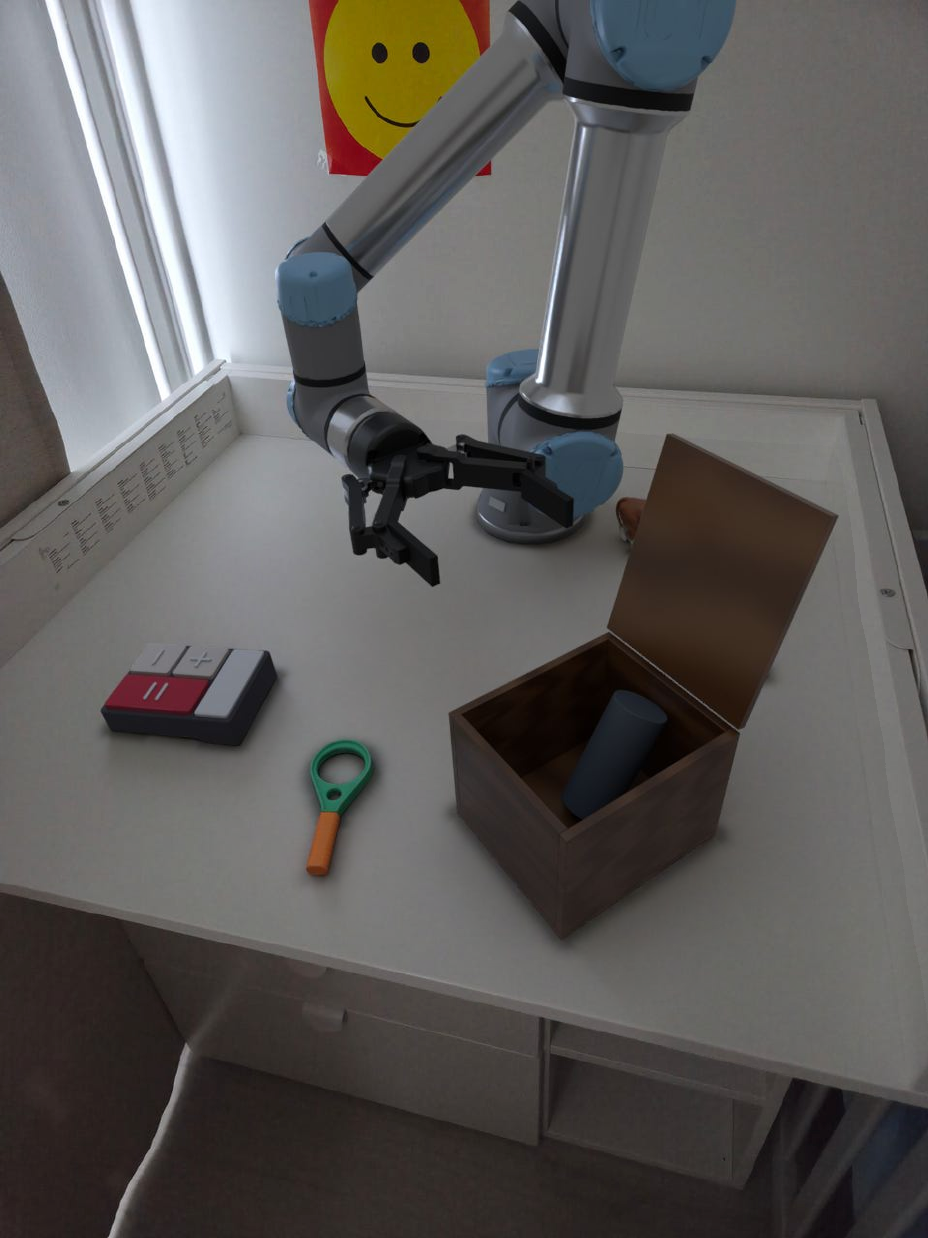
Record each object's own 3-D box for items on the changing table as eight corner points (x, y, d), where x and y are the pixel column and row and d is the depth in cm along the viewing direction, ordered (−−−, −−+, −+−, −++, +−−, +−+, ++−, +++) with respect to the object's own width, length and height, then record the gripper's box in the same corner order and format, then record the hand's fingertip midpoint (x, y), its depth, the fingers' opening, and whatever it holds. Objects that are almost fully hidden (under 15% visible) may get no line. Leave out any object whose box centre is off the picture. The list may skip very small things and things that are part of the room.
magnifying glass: (319, 746, 83) (316, 735, 82) (377, 747, 83) (375, 736, 82) (284, 876, 71) (280, 865, 70) (352, 878, 71) (349, 867, 70)
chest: (561, 940, 66) (566, 841, 57) (456, 811, 76) (448, 712, 68) (715, 834, 73) (740, 733, 64) (600, 730, 83) (609, 631, 75)
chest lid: (832, 516, 54) (839, 515, 55) (666, 433, 65) (673, 433, 65) (738, 730, 64) (744, 728, 64) (606, 628, 74) (612, 626, 75)
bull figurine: (706, 576, 102) (716, 521, 97) (608, 547, 108) (612, 494, 103) (718, 558, 105) (728, 504, 100) (621, 531, 111) (626, 479, 106)
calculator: (147, 637, 92) (269, 645, 89) (159, 665, 95) (278, 673, 92) (95, 706, 84) (227, 717, 81) (110, 734, 87) (239, 746, 83)
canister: (586, 787, 76) (638, 689, 73) (622, 822, 73) (678, 722, 69) (550, 791, 73) (602, 689, 69) (586, 828, 70) (643, 723, 66)
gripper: (485, 443, 88) (617, 528, 74) (271, 521, 78) (377, 636, 64) (482, 377, 83) (623, 453, 69) (254, 451, 73) (365, 558, 59)
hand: (505, 541), depth 66 cm, fingers open, 13 cm apart
